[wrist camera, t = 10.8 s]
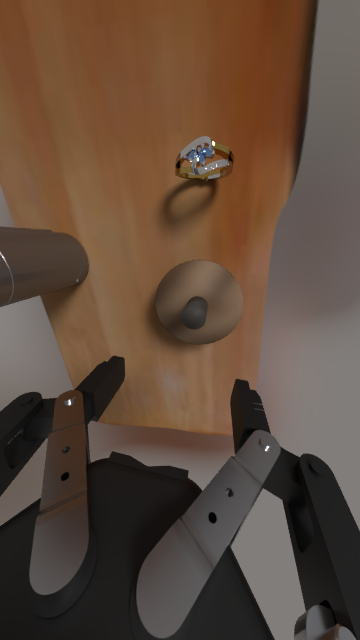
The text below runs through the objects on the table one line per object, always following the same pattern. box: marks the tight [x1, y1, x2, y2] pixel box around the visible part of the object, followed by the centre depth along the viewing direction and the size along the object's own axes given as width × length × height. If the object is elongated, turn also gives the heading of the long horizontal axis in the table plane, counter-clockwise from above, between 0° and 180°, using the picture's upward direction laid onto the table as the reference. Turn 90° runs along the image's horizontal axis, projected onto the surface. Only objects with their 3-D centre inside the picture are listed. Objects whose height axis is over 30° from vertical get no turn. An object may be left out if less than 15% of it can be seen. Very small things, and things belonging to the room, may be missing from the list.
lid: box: [155, 260, 243, 344], centre depth 26 cm, size 13×13×6 cm
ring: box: [175, 136, 234, 181], centre depth 23 cm, size 7×3×8 cm, turn 86°
